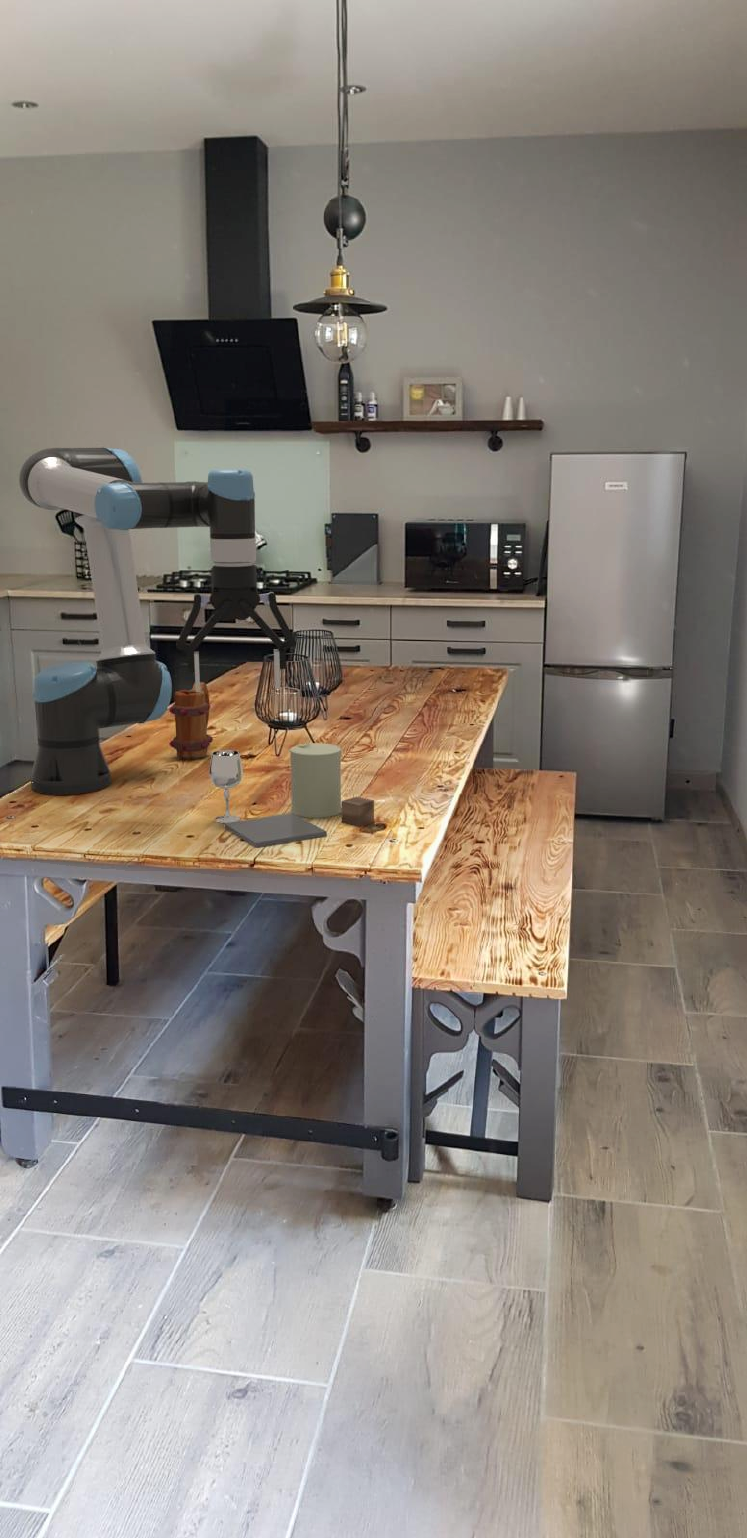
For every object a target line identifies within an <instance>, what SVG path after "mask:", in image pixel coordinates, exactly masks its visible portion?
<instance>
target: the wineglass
mask: <svg viewBox="0 0 747 1538" xmlns="http://www.w3.org/2000/svg"><path fill="white" fill-rule="evenodd" d="M209 761H210V762H209V770H208V771H209V773H208V774H209V778H210V781H211V783H212V784H213V785H214V786H215V787H217V788H220V789H224V791H223V796H224V800H225V813H224V815H219V816H217V817H215V818H214V821H215V822H217V823H222V824H224V823H230V822H236V821H241V818H240V817H239V816H237V815H233V814H231V813H230V810H229V800H230V795H231V793H230V790H229V789H233V788H235V787H236V786H238V785H239V784H241V782H242V778H243V773H244V772H243V771H244V770H243V763H242V759H241V755H240V752H239V751H237V750H232V749H220V750H216V751H213V752H211V757H210V760H209Z"/></svg>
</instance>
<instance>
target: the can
mask: <svg viewBox="0 0 747 1538" xmlns="http://www.w3.org/2000/svg"><path fill="white" fill-rule="evenodd" d="M289 752H290V782H291V783H290V784H291V787H290V788H291V789H290V790H291V795H290V796H291V804H290V805H291V807H290V813H294V814H295V815H297V816H299V817H301V818H304V819H305V818H307V819H321V818H322V819H323V818H330V817H331V818H332V817H334V816H338V815H339V814H342V803H341V801H342V786H341V785H342V784H341V783H342V782H341V781H342V779H341V778H342V777H341V775H342V774H341V773H342V772H341V771H342V769H341V767H342V766H341V765H342V763H341V762H342V761H341V758H342V757H341V756H342V755H341V754H342V753H341V752H342V748H341V747H340V746H338V745H336V744H331V743H317V742H315V743H303V744H297V745H293V746H292V747H290V748H289Z"/></svg>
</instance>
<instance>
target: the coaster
mask: <svg viewBox="0 0 747 1538" xmlns="http://www.w3.org/2000/svg"><path fill="white" fill-rule="evenodd" d="M223 824H224V826H223V827H224V829H225V830H227V831H229V832H230V833H232V834H233V835H235V836H237V837H239V838H240V839H241V840H243V841H245V842H246V843H248V844H249V845H251V846H253V847H254V848H257V849H258V848H261V847H262V848H263V847H268V846H275V845H280V844H281V845H282V844H286V843H291V842H299V841H304V840H310V839H311V840H312V839H315V838H321V837H326V836H327V830H325V829H323V828H321V827H319V826H317V825H316V824H314V823H312V822H310V821H308V820H306V819H305V818H304V817H300V816H297V815H295V814H294V813H291V812H290V813H284V814H283V813H281V814H277V815H276V814H275V815H270V816H269V815H268V816H263V817H256V818H251V819H243V820H239V821H236V822H230V823H223Z"/></svg>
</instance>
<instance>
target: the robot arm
mask: <svg viewBox="0 0 747 1538" xmlns="http://www.w3.org/2000/svg"><path fill="white" fill-rule="evenodd" d="M18 480H19V481H18V483H19V488H20V490H21V493H22V494H23V496H24V497H25V498H26V500H27V501H28V502H29V503H31V504H33V505H34V506H35V507H37V508H41V509H45V510H49V511H57V510H58V511H71V512H73V516H74V518H73V519H74V521H75V523H76V524H77V525H79V526H80V527H82V529H83V530H84V538H85V545H86V551H87V558H88V564H89V570H90V571H89V572H90V577H91V583H92V591H93V597H94V602H95V609H96V617H97V623H98V631H99V637H100V643H101V653H100V654H98V656H97V658H96V659H95V663H96V665H95V664H94V663H92V662H88V661H76V662H72V663H71V662H66V663H62V664H60V663H59V664H56V665H52V666H50V667H47V668H43V669H42V670H41V671H39V672H38V673H37V674H36V675H35V677H34V681H33V700H34V710H35V724H36V725H35V726H36V737H37V751H36V756H35V759H34V763H33V766H32V770H31V774H30V787H31V790H33V791H34V792H37V793H41V794H46V795H54V796H55V795H56V796H57V795H62V796H64V795H80V794H87V793H93V792H96V791H100V790H104V789H106V788H107V787H109V786H111V784H112V775H111V770H110V766H109V765H108V762H107V759H106V757H105V754H104V753H103V750H102V747H101V743H100V729H104V728H105V729H107V728H113V727H119V726H121V727H122V726H127V725H135V724H139V725H141V724H144V723H147V722H152V721H156V720H159V719H160V718H162V717H163V716H164V715H165V714H166V712H167V711H168V707H169V706H170V703H171V700H172V691H173V690H172V689H173V688H172V687H173V684H172V678H171V674H170V672H169V670H168V667H167V665H166V664H164V663H163V662H161V661H159V660H157V657H156V652H155V651H154V650H152V649H151V648H150V647H149V646H148V645H147V643H146V636H145V635H146V634H145V629H144V622H143V615H142V609H141V602H140V594H139V587H138V582H137V575H136V568H135V563H134V562H135V561H134V554H133V548H132V547H133V546H132V541H131V534H130V530H139V529H141V530H142V529H167V528H171V529H172V528H173V529H174V528H209V538H210V539H209V543H210V544H209V545H210V562H211V563H212V564H213V563H214V565H212V567H211V569H210V573H211V593H210V595H207V594H200V593H199V592H196V593H194V595H193V604H192V605H193V606H192V608H191V610H190V612H189V615H188V617H187V620H186V622H185V624H184V626H183V628H182V631H180V635H179V636H178V639H177V641H176V644H175V646H176V647H175V648H176V649H177V650H179V651H183V652H185V653H186V656H187V670H188V673H192V672H193V673H194V678H195V679H194V680H195V681H194V683H195V686H196V692H200V682H201V681H200V680H201V679H200V676H201V675H200V657H199V656H200V655H199V653H200V652H199V651H196V650H197V649H198V648H199V646H200V645H201V643H202V642H203V641H204V640H205V639H206V637H207V636H208V634H209V633H210V632H211V631H212V630H213V629H214V627H215V626H216V624H217V623H219V621H220V620H221V619H223V620H225V621H227V622H228V621H233V620H237V621H246V620H247V619H249V618H251V619H252V621H253V622H254V623H255V624H256V625H257V626H258V627H259V628H260V630H261V631H262V632H263V633H264V634H265V635H266V636H267V638H269V640H270V641H271V642H272V643H273V644H274V645H275V646H276V647H277V648H276V649H275V648H274V649H273V666H274V669H273V670H274V688H275V690H281V673H280V672H281V670H285V669H286V667H287V650H288V649H289V648H290V649H291V648H294V647H296V646H297V641H296V639H295V637H294V636H293V634H292V632H291V629H290V627H289V626H288V624H287V622H286V621H285V618H284V616H283V614H282V612H281V611H280V609H279V607H278V604H277V596H276V594H275V593H274V591H269V592H268V593H261V594H259V593H258V584H257V583H258V582H257V581H258V580H257V566H256V565H254V563H255V562H256V561H257V551H256V550H257V549H256V548H257V547H256V546H257V545H256V511H255V510H256V509H255V508H256V505H255V504H256V503H255V502H256V501H255V499H256V498H255V497H256V494H255V493H256V492H255V490H254V489H255V488H254V476H253V474H252V472H251V471H249V470H248V469H214V470H213V469H212V470H210V471H209V472H208V475H207V481H205V482H204V481H195V480H194V481H183V482H182V481H178V482H177V481H176V482H172V481H171V482H143V480H142V475H141V472H140V469H139V467H138V465H137V463H136V461H135V459H134V458H133V457H132V456H131V455H130V454H129V453H128V452H127V451H126V450H123V449H119V448H108V447H104V446H102V447H48V448H45V449H41V450H39V451H37V452H35V453H33V454H31V455H30V456H29V457H27V459H25V461H24V462H23V464H22V466H21V468H20V471H19V475H18ZM260 602H263V604H264V606H266V607H269V609H270V611H271V614H272V615H273V617H274V618H275V620H276V622H277V624H278V625H279V628H280V629H281V632H282V633H283V636H284V637H285V640H284V641H282V639H281V638H280V637H279V636H278V635H277V634H276V633H275V631H274V630H273V629H272V628H271V627H270V626H269V625H268V623H267V622H266V621H265V620H264V619H263V618H262V616H260V614H258V612H257V611H256V608H257V606H258V605H259V604H260ZM208 603H210V605H211V606H212V608H214V610H215V611H214V612H213V613H212V614H211V616H210V617H209V619H208V620H207V621H206V622H205V623H204V625H203V626H202V627H201V629H200V630H199V631H198V632H197V634H196V635H195V636H194V637H193V639H192V640H191V641H190V642H189V643H186V642H187V640H188V638H189V636H190V633H191V631H192V629H193V628H194V625H195V622H196V620H197V619H198V617H199V614H200V612H201V609H203V608H205V607H206V604H208ZM32 782H33V783H32Z"/></svg>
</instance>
